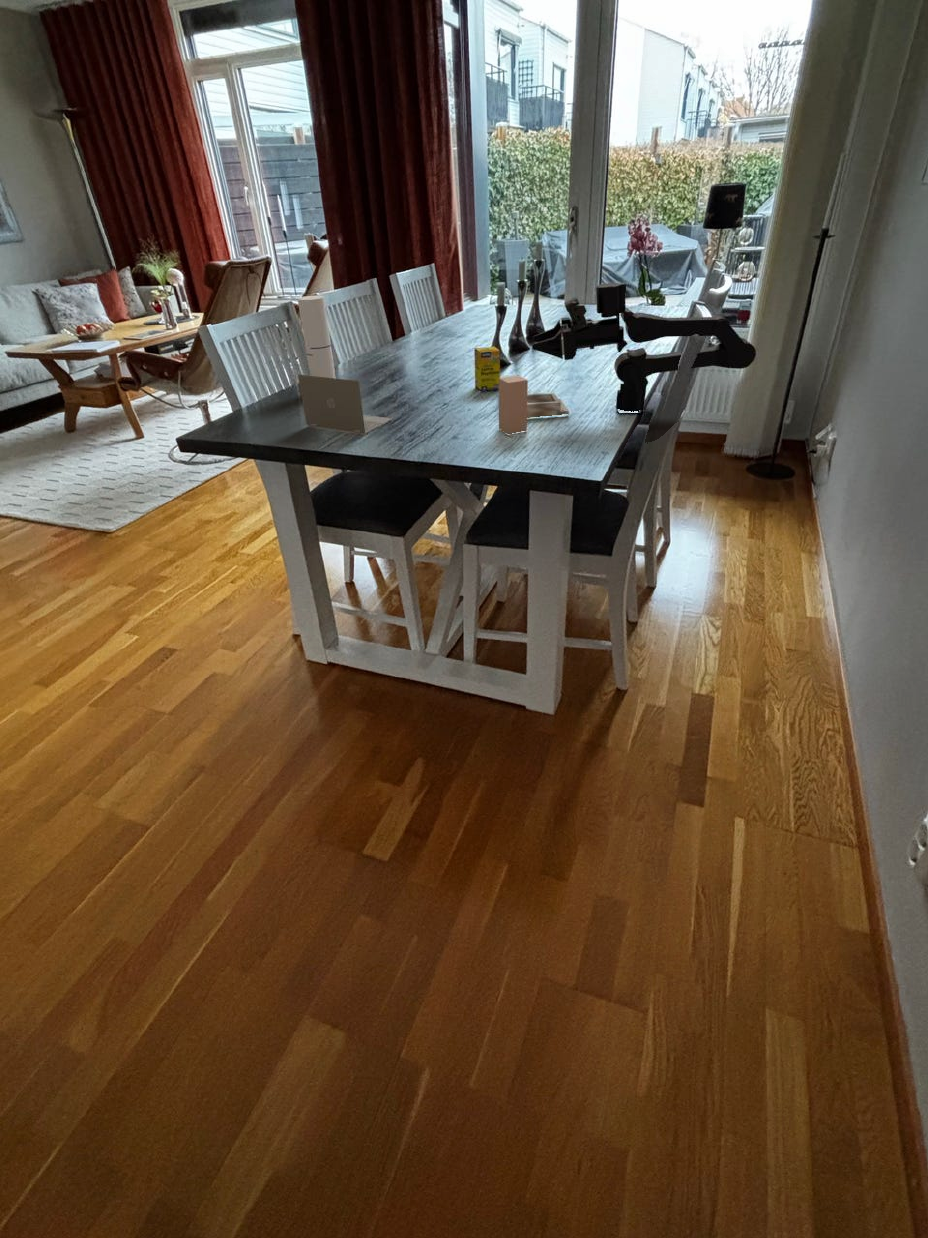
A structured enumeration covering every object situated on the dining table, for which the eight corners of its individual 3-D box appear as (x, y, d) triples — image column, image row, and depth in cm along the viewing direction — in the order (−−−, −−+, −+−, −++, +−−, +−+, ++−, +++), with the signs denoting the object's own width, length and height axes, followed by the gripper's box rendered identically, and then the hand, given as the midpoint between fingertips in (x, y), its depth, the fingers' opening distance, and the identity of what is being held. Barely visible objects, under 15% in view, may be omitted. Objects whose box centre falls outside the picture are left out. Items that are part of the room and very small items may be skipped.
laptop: (393, 421, 164) (387, 368, 156) (365, 436, 154) (358, 381, 147) (336, 413, 171) (328, 362, 163) (306, 428, 162) (297, 374, 154)
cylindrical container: (332, 394, 185) (317, 299, 171) (309, 394, 187) (293, 299, 172) (340, 387, 191) (327, 295, 177) (318, 387, 192) (303, 295, 178)
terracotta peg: (517, 426, 156) (518, 375, 149) (526, 431, 152) (527, 379, 145) (498, 429, 155) (498, 377, 148) (507, 435, 151) (507, 382, 144)
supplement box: (480, 392, 181) (479, 352, 175) (474, 387, 186) (473, 347, 180) (500, 390, 183) (500, 350, 176) (494, 385, 187) (493, 345, 181)
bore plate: (560, 404, 169) (560, 390, 167) (568, 417, 160) (569, 402, 158) (511, 407, 169) (511, 393, 167) (517, 420, 160) (517, 405, 158)
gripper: (593, 290, 157) (530, 300, 159) (598, 303, 141) (528, 313, 144) (595, 338, 163) (534, 347, 165) (600, 355, 147) (533, 364, 150)
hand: (532, 342), depth 156 cm, fingers open, 9 cm apart
